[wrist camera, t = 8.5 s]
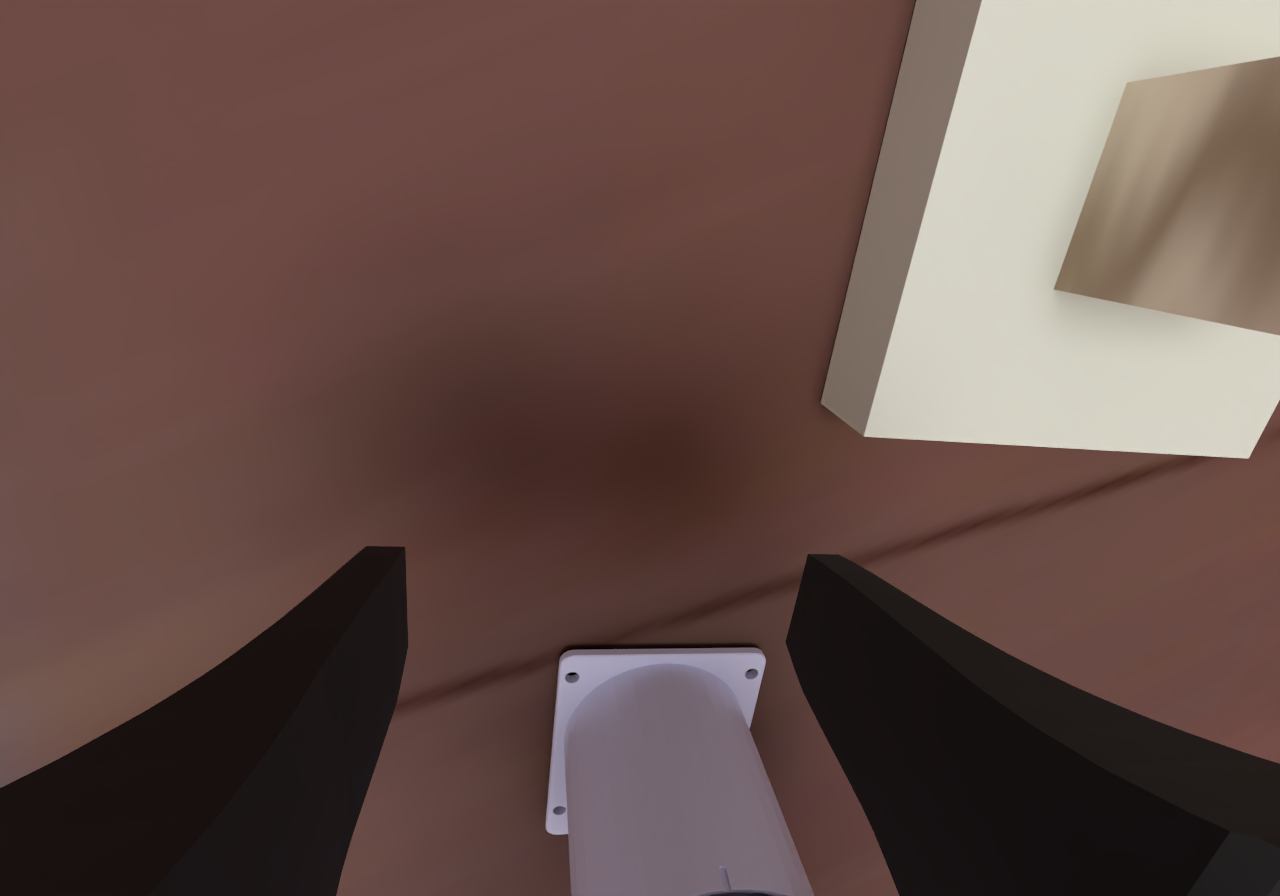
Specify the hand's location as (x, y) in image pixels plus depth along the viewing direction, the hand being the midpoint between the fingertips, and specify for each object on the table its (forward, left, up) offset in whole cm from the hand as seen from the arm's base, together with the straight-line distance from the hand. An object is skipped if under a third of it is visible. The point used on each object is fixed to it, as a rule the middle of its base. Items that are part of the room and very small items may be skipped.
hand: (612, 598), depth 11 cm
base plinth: (+8, -15, -9) cm, 19 cm away
